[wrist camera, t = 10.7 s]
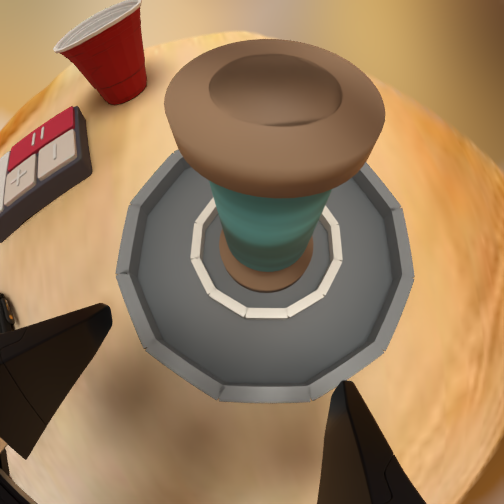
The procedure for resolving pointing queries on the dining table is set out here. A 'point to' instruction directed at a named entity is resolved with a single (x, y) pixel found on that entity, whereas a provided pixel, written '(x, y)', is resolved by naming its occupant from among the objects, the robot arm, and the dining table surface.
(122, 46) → the plastic cup
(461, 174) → the dining table surface
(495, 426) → the dining table surface
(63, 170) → the calculator
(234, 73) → the bead spool
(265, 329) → the round tray
